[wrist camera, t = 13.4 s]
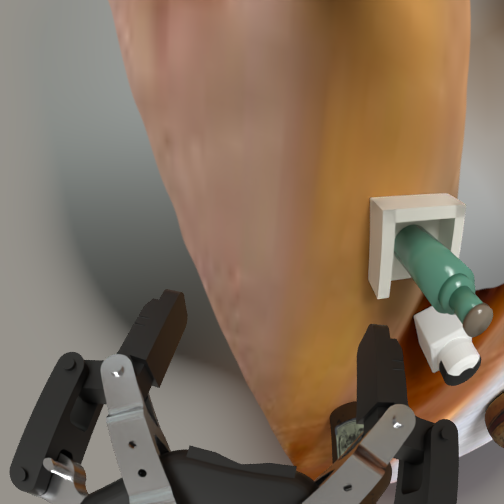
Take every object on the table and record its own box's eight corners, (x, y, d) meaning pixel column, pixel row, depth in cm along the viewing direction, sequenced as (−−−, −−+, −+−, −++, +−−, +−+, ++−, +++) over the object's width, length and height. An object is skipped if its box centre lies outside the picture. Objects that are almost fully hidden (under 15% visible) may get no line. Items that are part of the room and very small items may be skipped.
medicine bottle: (454, 324, 40) (484, 375, 29) (418, 343, 41) (443, 398, 31) (451, 294, 37) (488, 346, 26) (412, 314, 39) (442, 372, 28)
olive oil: (380, 416, 51) (400, 517, 29) (333, 430, 54) (342, 531, 32) (373, 392, 47) (398, 511, 25) (320, 408, 50) (329, 527, 28)
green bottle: (393, 226, 32) (464, 303, 17) (429, 222, 31) (508, 290, 17) (392, 265, 34) (449, 352, 20) (426, 260, 34) (492, 338, 19)
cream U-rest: (369, 197, 32) (382, 210, 28) (447, 193, 30) (466, 204, 26) (367, 279, 37) (377, 299, 33) (438, 269, 35) (452, 286, 31)
